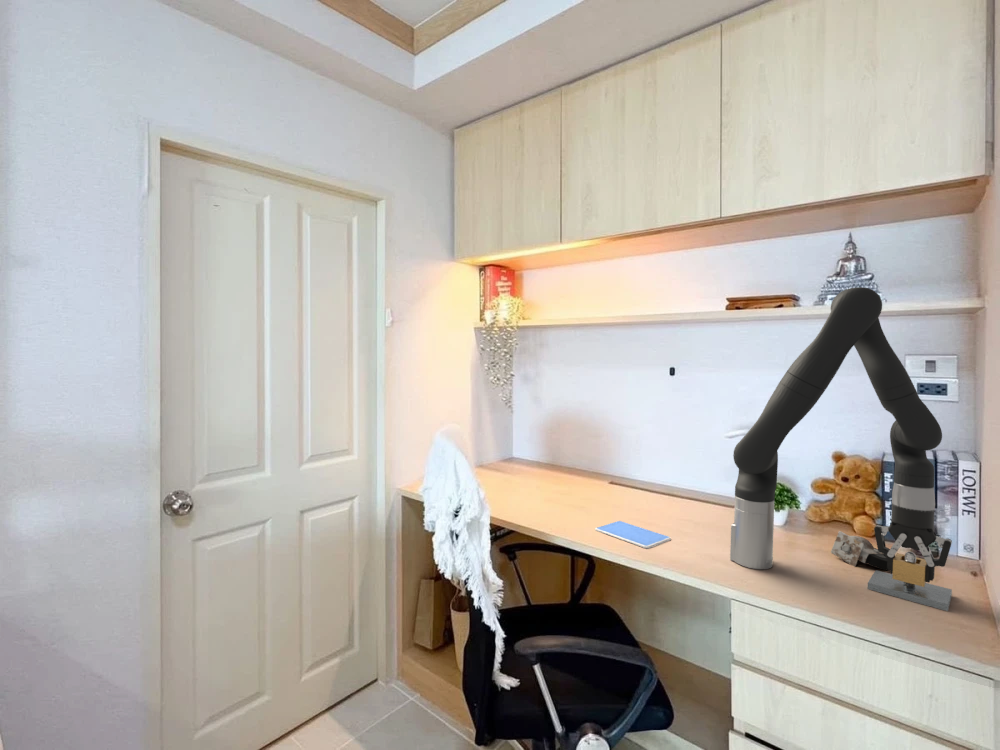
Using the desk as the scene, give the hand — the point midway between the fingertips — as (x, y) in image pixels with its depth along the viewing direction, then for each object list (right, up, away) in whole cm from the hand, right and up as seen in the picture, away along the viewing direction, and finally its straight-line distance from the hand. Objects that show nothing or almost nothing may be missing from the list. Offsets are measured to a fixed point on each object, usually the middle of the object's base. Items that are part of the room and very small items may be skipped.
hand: (910, 576), depth 114 cm
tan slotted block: (0, -1, 0) cm, 1 cm away
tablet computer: (-54, -3, +36) cm, 65 cm away
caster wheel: (+2, -4, +17) cm, 17 cm away
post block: (0, -4, 0) cm, 4 cm away
